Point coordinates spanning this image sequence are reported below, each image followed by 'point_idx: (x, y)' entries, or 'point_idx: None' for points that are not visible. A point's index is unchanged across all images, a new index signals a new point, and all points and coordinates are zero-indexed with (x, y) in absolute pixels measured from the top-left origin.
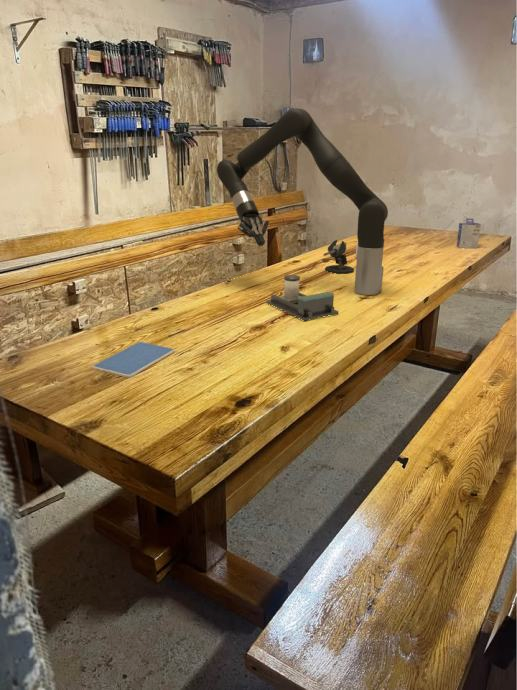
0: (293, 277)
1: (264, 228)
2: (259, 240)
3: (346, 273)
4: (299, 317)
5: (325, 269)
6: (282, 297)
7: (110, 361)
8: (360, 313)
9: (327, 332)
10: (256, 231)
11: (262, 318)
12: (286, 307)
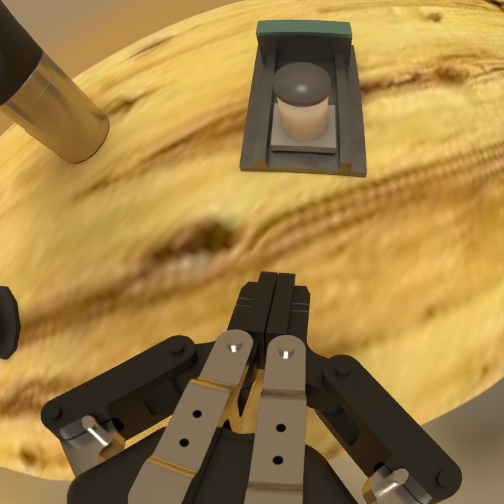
0: (302, 74)
1: (153, 369)
2: (294, 300)
3: (7, 287)
4: (354, 56)
5: (14, 345)
6: (330, 134)
7: None
8: (218, 40)
9: (344, 12)
10: (281, 367)
11: (426, 102)
12: (348, 102)
